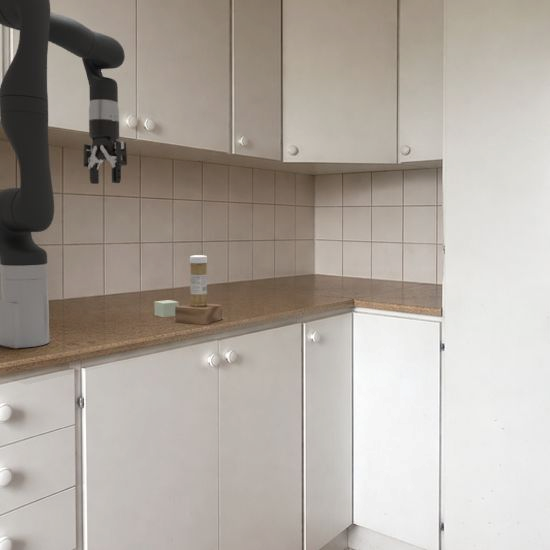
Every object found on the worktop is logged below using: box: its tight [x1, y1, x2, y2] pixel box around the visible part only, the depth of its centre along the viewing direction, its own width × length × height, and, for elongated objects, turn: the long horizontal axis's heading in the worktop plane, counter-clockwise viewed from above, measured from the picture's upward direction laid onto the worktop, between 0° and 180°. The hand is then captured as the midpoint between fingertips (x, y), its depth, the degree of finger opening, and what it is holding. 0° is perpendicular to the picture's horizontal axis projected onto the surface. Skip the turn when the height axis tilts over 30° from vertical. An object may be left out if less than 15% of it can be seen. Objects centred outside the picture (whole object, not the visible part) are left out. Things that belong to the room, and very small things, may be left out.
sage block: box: [153, 299, 180, 318], centre depth 164 cm, size 5×5×4 cm
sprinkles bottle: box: [189, 254, 208, 307], centre depth 155 cm, size 5×5×13 cm
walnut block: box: [174, 303, 223, 326], centre depth 156 cm, size 9×9×4 cm
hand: (105, 183), depth 153 cm, fingers open, 8 cm apart
